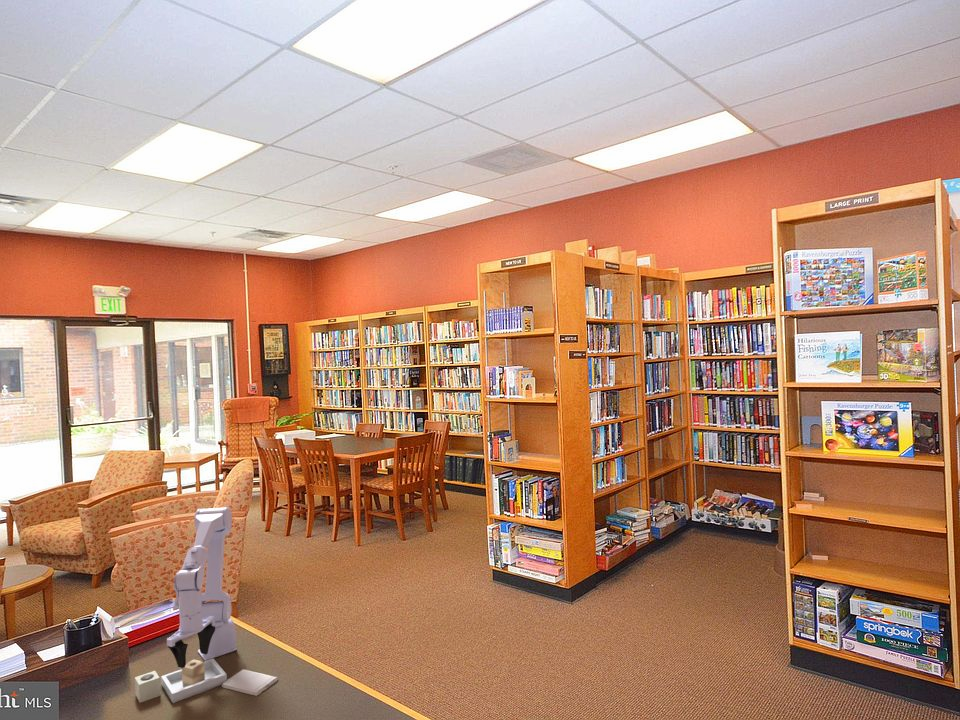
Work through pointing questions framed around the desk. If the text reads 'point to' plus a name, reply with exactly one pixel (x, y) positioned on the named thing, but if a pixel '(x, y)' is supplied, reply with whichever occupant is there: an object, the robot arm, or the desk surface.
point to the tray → (180, 691)
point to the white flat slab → (249, 682)
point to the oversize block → (147, 686)
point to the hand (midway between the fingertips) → (193, 660)
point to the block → (193, 672)
